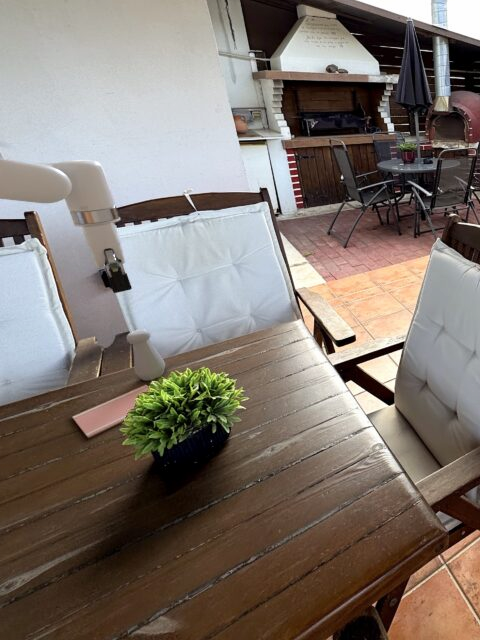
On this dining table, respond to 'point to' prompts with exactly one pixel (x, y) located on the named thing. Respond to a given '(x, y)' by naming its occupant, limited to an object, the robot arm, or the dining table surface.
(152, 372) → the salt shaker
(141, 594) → the dining table surface
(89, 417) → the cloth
